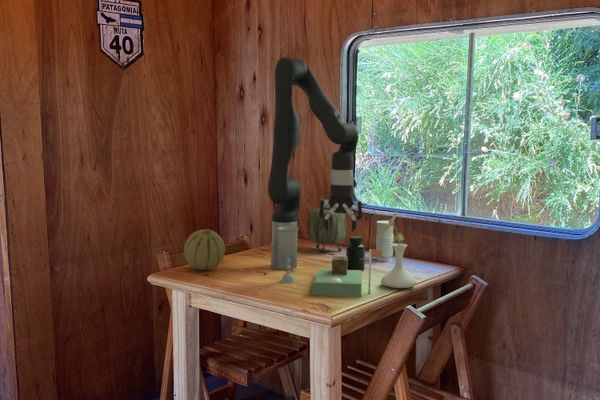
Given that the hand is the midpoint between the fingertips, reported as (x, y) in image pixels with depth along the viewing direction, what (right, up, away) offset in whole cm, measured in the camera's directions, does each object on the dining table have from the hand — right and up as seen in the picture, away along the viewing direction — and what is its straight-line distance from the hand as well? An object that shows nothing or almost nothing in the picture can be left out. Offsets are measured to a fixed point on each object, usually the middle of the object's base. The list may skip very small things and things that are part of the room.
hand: (340, 230), depth 205 cm
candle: (+20, -13, +33) cm, 40 cm away
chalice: (-17, -17, -1) cm, 24 cm away
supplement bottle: (+7, -15, +16) cm, 23 cm away
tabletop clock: (-3, -11, +48) cm, 50 cm away
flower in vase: (+18, -18, -7) cm, 27 cm away
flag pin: (+10, -19, -15) cm, 26 cm away
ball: (-2, -16, -13) cm, 21 cm away
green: (-1, -18, -6) cm, 19 cm away
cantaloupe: (-48, -15, +14) cm, 52 cm away
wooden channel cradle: (0, -14, +2) cm, 14 cm away
